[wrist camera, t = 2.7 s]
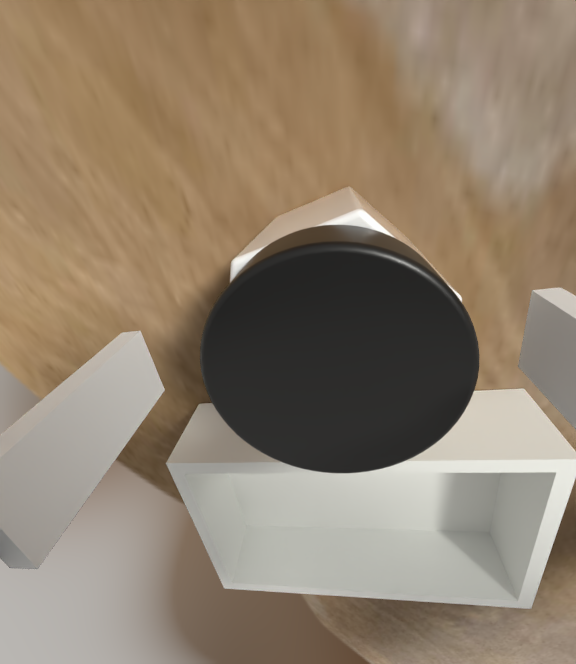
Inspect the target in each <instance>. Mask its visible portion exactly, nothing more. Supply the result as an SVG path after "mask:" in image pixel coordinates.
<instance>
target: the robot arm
mask: <svg viewBox="0 0 576 664" xmlns="http://www.w3.org/2000/svg"><path fill="white" fill-rule="evenodd" d="M518 367H519V368H520V369H521V370H522V371H523V372H524V373H525V375H526V376H527V377H528V378H529V379H530V380H531V381H532V382H533V383H534V384H535V385H536V387H537V388H538V389H539V390H540V391H541V392H542V393H543V394H544V395H545V396H546V398H547V399H548V400H549V401H550V402H551V403H552V404H553V405H554V406H555V407H556V408H557V410H558V411H559V412H560V413H561V414H562V415H563V416H564V417H565V418H566V419H567V421H568V422H569V423H570V424H571V425H572V426H573V427H574V428H575V429H576V296H575V295H573V294H571V293H570V292H568V291H566V290H564V289H562V288H561V287H560V288H551V289H541V290H532V294H531V299H530V304H529V310H528V315H527V321H526V326H525V331H524V337H523V342H522V348H521V353H520V358H519V364H518ZM164 391H165V389H164V387H163V384H162V382H161V380H160V377H159V375H158V372H157V370H156V367H155V365H154V363H153V360H152V358H151V355H150V353H149V350H148V348H147V346H146V343H145V341H144V338H143V336H142V333H141V331H133V332H123V333H121V334H120V335H119V336H117V337H116V338H115V339H114V340H113V341H111V342H110V343H109V344H108V345H107V346H105V347H104V348H103V349H102V350H101V351H99V352H98V353H97V354H96V355H95V356H93V357H92V358H91V359H90V360H89V361H88V362H86V363H85V364H84V365H83V366H82V367H80V368H79V369H78V370H77V371H76V372H74V373H73V374H72V375H71V376H70V377H68V378H67V379H66V380H65V381H64V382H62V383H61V384H60V385H59V386H58V387H57V388H55V389H54V390H53V391H52V392H51V393H49V394H48V395H47V396H46V397H45V398H43V399H42V400H41V401H40V402H39V403H37V404H36V405H35V406H34V407H33V408H31V409H30V410H29V411H28V412H27V413H25V414H24V415H23V416H22V417H21V418H20V419H18V420H17V421H16V422H15V423H14V424H12V425H11V426H10V427H9V428H8V429H6V430H5V431H4V432H3V433H2V434H0V558H1V559H2V560H3V561H4V562H5V563H6V564H7V565H8V567H9V568H22V569H38V568H39V566H40V565H41V564H42V562H43V561H44V559H45V558H46V556H47V555H48V554H49V552H50V551H51V549H52V548H53V547H54V545H55V544H56V543H57V541H58V539H59V538H60V537H61V536H62V534H63V533H64V531H65V530H66V529H67V527H68V526H69V524H70V523H71V521H72V520H73V519H74V517H75V516H76V514H77V513H78V512H79V510H80V509H81V507H82V506H83V504H84V503H85V502H86V500H87V499H88V498H89V496H90V495H91V493H92V492H93V490H94V489H95V488H96V486H97V485H98V483H99V482H100V481H101V479H102V478H103V476H104V475H105V474H106V472H107V471H108V469H109V468H110V466H111V465H112V464H113V462H114V461H115V460H116V458H117V457H118V455H119V454H120V452H121V451H122V450H123V448H124V447H125V445H126V444H127V443H128V441H129V440H130V438H131V437H132V436H133V434H134V433H135V431H136V430H137V429H138V427H139V426H140V424H141V423H142V422H143V420H144V419H145V417H146V416H147V414H148V413H149V412H150V410H151V409H152V407H153V406H154V405H155V403H156V402H157V400H158V399H159V398H160V396H161V395H162V393H163V392H164Z"/></svg>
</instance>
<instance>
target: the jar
mask: <svg viewBox="0 0 576 664" xmlns="http://www.w3.org/2000/svg"><path fill="white" fill-rule="evenodd" d="M200 364H201V372H202V377H203V381H204V384H205V387H206V390H207V392H208V395H209V397H210V399H211V401H212V403H213V405H214V407H215V409H216V410H217V412H218V413H219V415H220V416H221V417H222V419H223V420H224V421H225V422H226V424H227V425H228V426H229V427H230V428H231V429H232V430H233V431H234V432H235V433H236V434H237V435H238V436H239V437H240V438H242V439H243V440H244V441H245V442H246V443H248V444H249V445H251V446H252V447H253V448H255V449H257V450H258V451H260V452H262V453H263V454H265V455H267V456H269V457H271V458H273V459H275V460H278V461H280V462H282V463H285V464H288V465H291V466H294V467H298V468H301V469H306V470H311V471H316V472H324V473H361V472H368V471H374V470H379V469H383V468H386V467H390V466H393V465H396V464H399V463H402V462H404V461H406V460H408V459H411V458H413V457H415V456H417V455H418V454H420V453H422V452H424V451H425V450H427V449H428V448H430V447H431V446H433V445H434V444H435V443H437V442H438V441H439V440H440V439H442V438H443V437H444V436H445V435H446V434H447V433H448V432H449V431H450V430H451V429H452V427H453V426H454V425H455V424H456V423H457V422H458V420H459V419H460V417H461V416H462V414H463V413H464V411H465V409H466V407H467V406H468V404H469V402H470V400H471V397H472V395H473V392H474V390H475V386H476V382H477V379H478V371H479V348H478V341H477V337H476V333H475V329H474V326H473V324H472V321H471V319H470V317H469V314H468V312H467V311H466V309H465V307H464V305H463V304H462V298H461V296H460V294H459V293H458V292H457V291H456V290H455V289H454V288H453V287H452V286H451V285H450V284H449V283H448V281H447V280H446V279H445V278H444V277H443V276H442V275H441V274H440V273H439V272H438V270H437V269H436V268H435V267H434V266H433V265H432V264H431V263H430V262H429V261H428V260H427V258H426V257H425V256H424V255H423V254H422V253H421V252H420V251H419V250H418V249H417V248H416V246H415V245H414V244H413V243H412V242H411V241H410V240H409V239H408V238H407V237H406V236H405V235H404V234H403V233H402V232H401V231H399V230H398V229H397V228H396V227H395V226H394V225H393V224H392V223H391V222H389V221H388V220H387V219H386V218H385V217H384V216H383V215H382V214H380V213H379V212H378V211H377V210H376V209H375V208H374V207H373V206H371V205H370V204H369V203H368V202H367V201H366V200H365V199H364V198H363V197H361V196H360V195H359V194H358V193H357V192H356V191H355V190H354V189H352V188H351V187H346V188H343V189H341V190H339V191H336V192H334V193H332V194H329V195H327V196H325V197H322V198H320V199H318V200H315V201H313V202H310V203H308V204H306V205H303V206H301V207H299V208H296V209H294V210H292V211H289V212H287V213H285V214H282V215H280V216H278V217H276V218H275V219H274V220H273V221H272V222H270V223H269V224H268V225H267V226H266V227H265V228H264V229H263V230H262V231H261V232H260V233H259V234H258V235H257V236H256V237H255V238H254V239H253V240H252V241H251V242H250V243H249V244H248V245H247V246H246V247H245V248H244V249H243V250H242V251H241V252H240V253H239V254H238V255H237V256H236V257H235V258H234V259H233V260H232V262H231V269H230V284H229V285H228V286H227V287H226V288H225V290H224V291H223V292H222V293H221V295H220V296H219V298H218V299H217V301H216V302H215V304H214V305H213V307H212V309H211V311H210V313H209V316H208V318H207V320H206V323H205V326H204V330H203V334H202V339H201V346H200Z"/></svg>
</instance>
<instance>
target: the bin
mask: <svg viewBox="0 0 576 664" xmlns="http://www.w3.org/2000/svg"><path fill="white" fill-rule="evenodd" d="M166 465H167V467H168V469H169V471H170V473H171V475H172V478H173V480H174V482H175V484H176V486H177V488H178V490H179V493H180V495H181V497H182V499H183V501H184V503H185V505H186V507H187V510H188V512H189V514H190V516H191V518H192V520H193V522H194V525H195V527H196V529H197V531H198V533H199V535H200V537H201V539H202V542H203V544H204V546H205V548H206V550H207V552H208V554H209V557H210V559H211V561H212V563H213V565H214V567H215V569H216V571H217V574H218V576H219V578H220V580H221V582H222V584H223V587H224V588H226V589H241V590H256V591H271V592H286V593H301V594H316V595H331V596H346V597H361V598H376V599H391V600H406V601H421V602H436V603H451V604H467V605H482V606H497V607H512V608H527V609H531V607H532V604H533V602H534V599H535V596H536V593H537V590H538V587H539V584H540V581H541V578H542V575H543V572H544V569H545V566H546V563H547V560H548V558H549V555H550V552H551V549H552V546H553V543H554V540H555V537H556V534H557V531H558V528H559V525H560V522H561V519H562V516H563V513H564V511H565V508H566V505H567V502H568V499H569V496H570V493H571V490H572V487H573V484H574V481H575V478H576V451H575V450H574V449H573V448H572V446H571V445H570V444H569V443H568V442H567V440H566V439H565V438H564V437H563V435H562V434H561V433H560V432H559V431H558V429H557V428H556V427H555V426H554V425H553V423H552V422H551V421H550V420H549V418H548V417H547V416H546V415H545V414H544V412H543V411H542V410H541V409H540V407H539V406H538V405H537V404H536V403H535V401H534V400H533V399H532V398H531V396H530V395H529V394H528V393H527V392H526V390H525V389H503V390H481V391H474V392H473V395H472V397H471V400H470V402H469V404H468V406H467V407H466V409H465V411H464V413H463V414H462V416H461V417H460V419H459V420H458V422H457V423H456V424H455V425H454V426H453V427H452V429H451V430H450V431H449V432H448V433H447V434H446V435H445V436H444V437H443V438H442V439H440V440H439V441H438V442H437V443H435V444H434V445H433V446H431V447H430V448H428V449H427V450H425V451H424V452H422V453H420V454H418V455H417V456H415V457H413V458H411V459H408V460H406V461H404V462H402V463H399V464H396V465H393V466H390V467H386V468H383V469H379V470H374V471H368V472H361V473H324V472H316V471H311V470H306V469H301V468H298V467H294V466H291V465H288V464H285V463H282V462H280V461H278V460H275V459H273V458H271V457H269V456H267V455H265V454H263V453H262V452H260V451H258V450H257V449H255V448H253V447H252V446H251V445H249V444H248V443H246V442H245V441H244V440H243V439H242V438H240V437H239V436H238V435H237V434H236V433H235V432H234V431H233V430H232V429H231V428H230V427H229V426H228V425H227V424H226V422H225V421H224V420H223V419H222V417H221V416H220V415H219V413H218V412H217V410H216V409H215V407H214V405H213V403H202V404H199V405H198V406H197V408H196V410H195V412H194V414H193V415H192V417H191V419H190V421H189V423H188V424H187V426H186V428H185V430H184V432H183V433H182V435H181V437H180V439H179V441H178V442H177V444H176V446H175V448H174V450H173V451H172V453H171V455H170V457H169V459H168V460H167V462H166Z"/></svg>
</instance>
